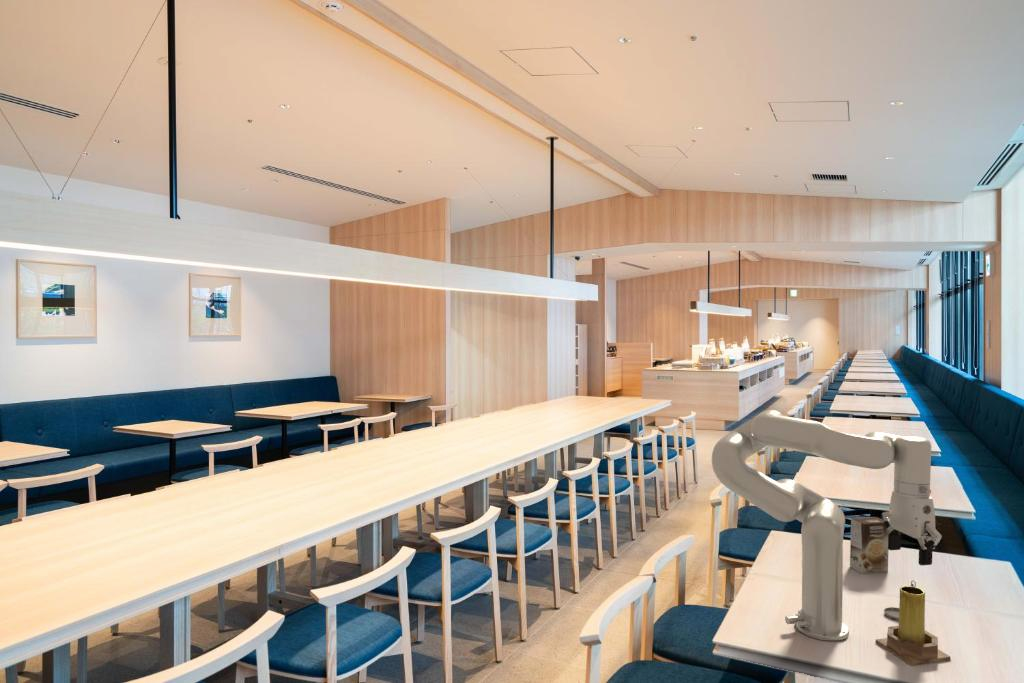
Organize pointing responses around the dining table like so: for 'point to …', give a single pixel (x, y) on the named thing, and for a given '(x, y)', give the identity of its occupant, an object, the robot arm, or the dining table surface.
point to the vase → (912, 615)
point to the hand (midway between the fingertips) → (909, 556)
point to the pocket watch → (894, 610)
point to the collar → (913, 648)
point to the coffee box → (869, 545)
